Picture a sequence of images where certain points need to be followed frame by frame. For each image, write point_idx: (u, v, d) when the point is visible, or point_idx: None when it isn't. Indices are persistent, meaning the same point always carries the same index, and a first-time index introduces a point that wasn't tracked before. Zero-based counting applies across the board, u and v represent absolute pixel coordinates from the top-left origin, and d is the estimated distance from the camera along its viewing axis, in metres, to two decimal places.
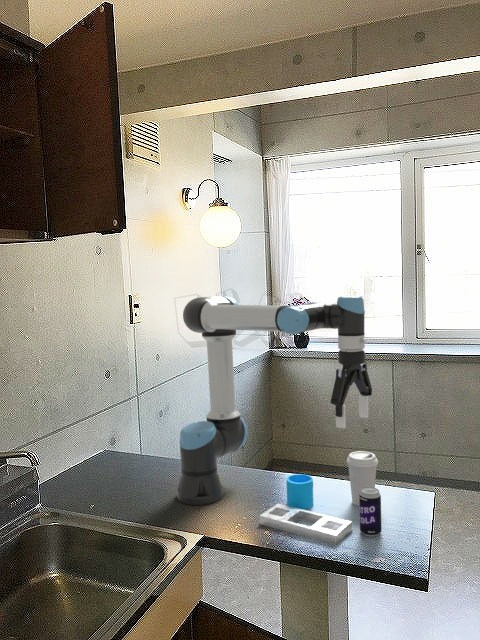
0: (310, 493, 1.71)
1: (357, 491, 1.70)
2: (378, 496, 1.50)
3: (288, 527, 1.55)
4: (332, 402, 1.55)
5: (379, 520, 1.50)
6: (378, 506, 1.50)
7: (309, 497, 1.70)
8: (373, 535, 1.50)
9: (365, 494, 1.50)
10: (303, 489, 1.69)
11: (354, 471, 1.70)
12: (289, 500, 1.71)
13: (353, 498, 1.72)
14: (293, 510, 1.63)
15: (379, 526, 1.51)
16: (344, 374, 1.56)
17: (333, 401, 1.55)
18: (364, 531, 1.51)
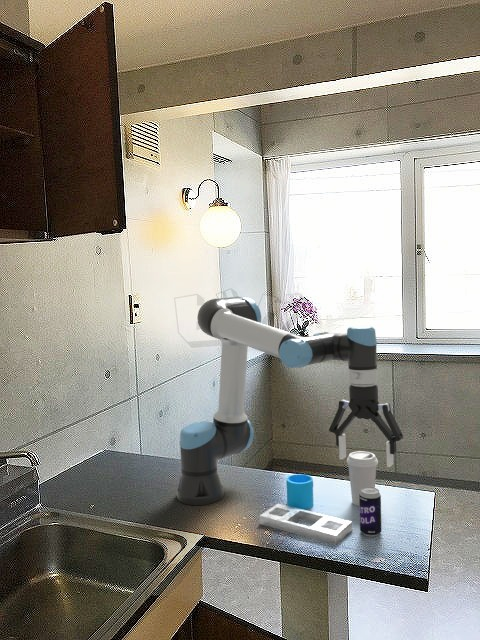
0: (310, 493, 1.71)
1: (357, 491, 1.70)
2: (378, 496, 1.50)
3: (288, 527, 1.55)
4: None
5: (379, 520, 1.50)
6: (378, 506, 1.50)
7: (309, 497, 1.70)
8: (373, 535, 1.50)
9: (365, 494, 1.50)
10: (303, 489, 1.69)
11: (354, 471, 1.70)
12: (289, 500, 1.71)
13: (353, 498, 1.72)
14: (293, 510, 1.63)
15: (379, 526, 1.51)
16: (340, 405, 1.53)
17: None
18: (364, 531, 1.51)
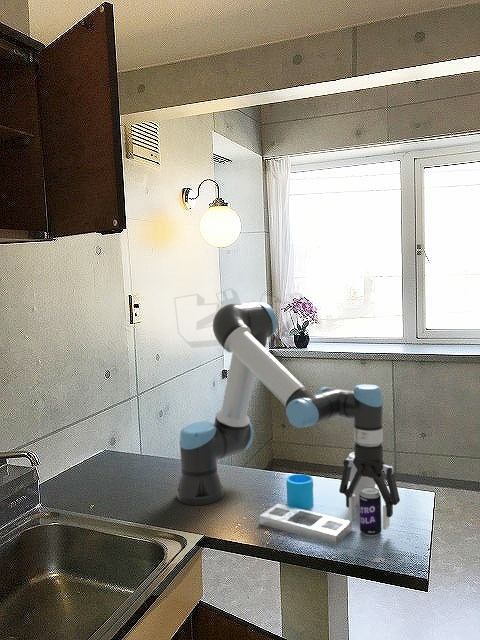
0: (310, 493, 1.71)
1: (357, 491, 1.70)
2: (378, 496, 1.50)
3: (288, 527, 1.55)
4: None
5: (379, 520, 1.50)
6: (378, 506, 1.50)
7: (309, 497, 1.70)
8: (373, 535, 1.50)
9: (365, 494, 1.50)
10: (303, 489, 1.69)
11: (354, 471, 1.70)
12: (289, 500, 1.71)
13: None
14: (293, 510, 1.63)
15: (379, 526, 1.51)
16: (345, 464, 1.54)
17: None
18: (364, 531, 1.51)
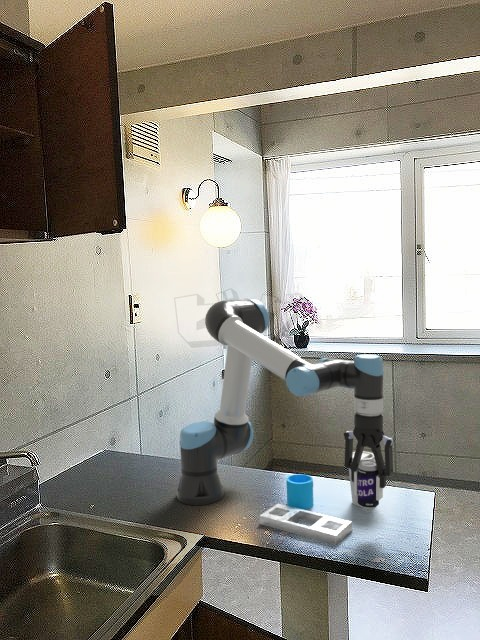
0: (310, 493, 1.71)
1: None
2: (376, 469, 1.50)
3: (288, 527, 1.55)
4: None
5: None
6: None
7: (309, 497, 1.70)
8: (371, 507, 1.50)
9: (364, 467, 1.50)
10: (303, 489, 1.69)
11: None
12: (289, 500, 1.71)
13: (353, 498, 1.72)
14: (293, 510, 1.63)
15: None
16: (346, 437, 1.53)
17: None
18: (362, 504, 1.50)
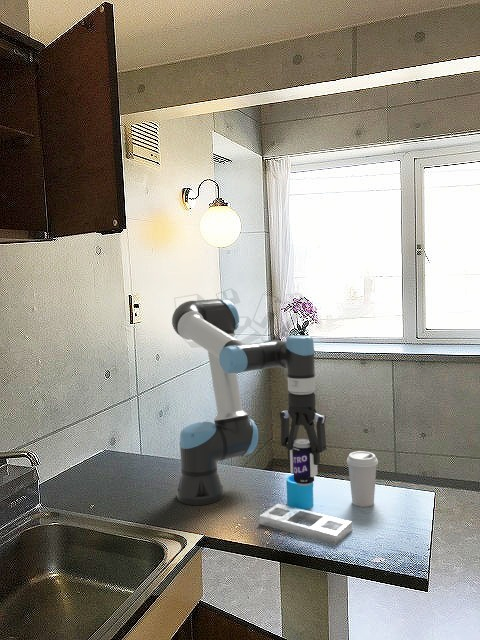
0: (310, 493, 1.71)
1: (357, 491, 1.70)
2: (310, 446, 1.54)
3: (288, 527, 1.55)
4: None
5: None
6: None
7: (309, 497, 1.70)
8: (305, 483, 1.54)
9: (297, 444, 1.54)
10: (303, 489, 1.69)
11: (354, 471, 1.70)
12: (289, 500, 1.71)
13: (353, 498, 1.72)
14: (293, 510, 1.63)
15: None
16: (281, 416, 1.58)
17: None
18: (297, 480, 1.55)
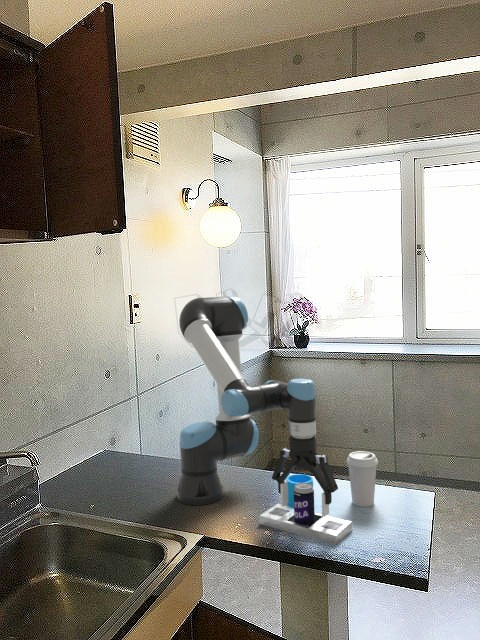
0: None
1: (357, 491, 1.70)
2: (311, 491, 1.55)
3: (288, 527, 1.55)
4: None
5: (312, 514, 1.56)
6: (311, 501, 1.55)
7: None
8: None
9: (298, 489, 1.55)
10: None
11: (354, 471, 1.70)
12: (289, 500, 1.71)
13: (353, 498, 1.72)
14: (293, 510, 1.63)
15: (312, 520, 1.56)
16: (281, 454, 1.59)
17: None
18: None
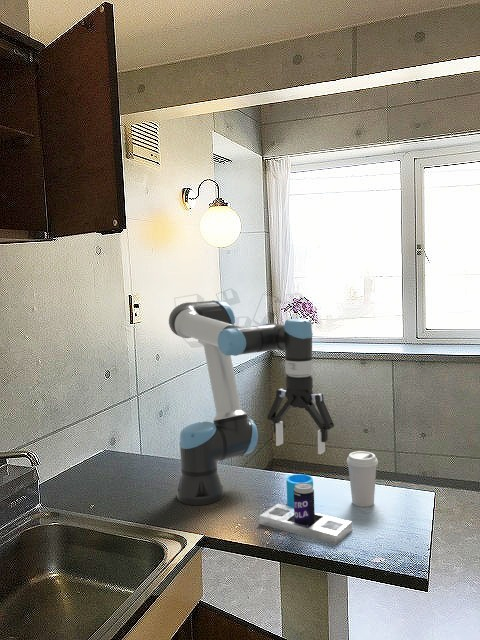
0: None
1: (357, 491, 1.70)
2: (311, 491, 1.55)
3: (288, 527, 1.55)
4: None
5: (312, 514, 1.56)
6: (311, 501, 1.55)
7: None
8: None
9: (298, 489, 1.55)
10: None
11: (354, 471, 1.70)
12: (289, 500, 1.71)
13: (353, 498, 1.72)
14: (293, 510, 1.63)
15: (312, 520, 1.56)
16: (277, 394, 1.60)
17: None
18: None
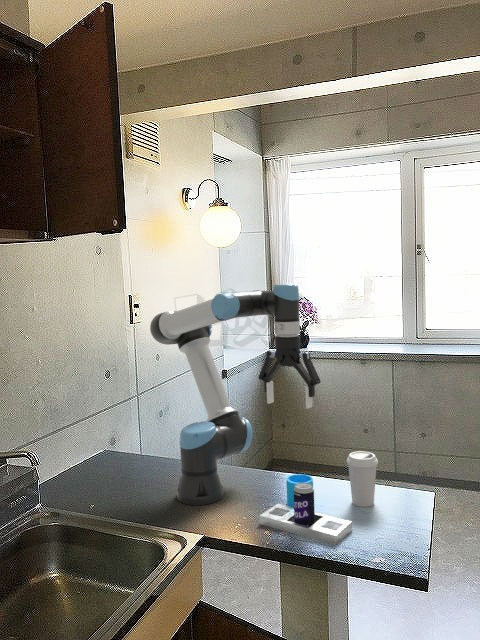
0: None
1: (357, 491, 1.70)
2: (311, 491, 1.55)
3: (288, 527, 1.55)
4: None
5: (312, 514, 1.56)
6: (311, 501, 1.55)
7: None
8: None
9: (298, 489, 1.55)
10: None
11: (354, 471, 1.70)
12: (289, 500, 1.71)
13: (353, 498, 1.72)
14: (293, 510, 1.63)
15: (312, 520, 1.56)
16: (267, 354, 1.71)
17: None
18: None
